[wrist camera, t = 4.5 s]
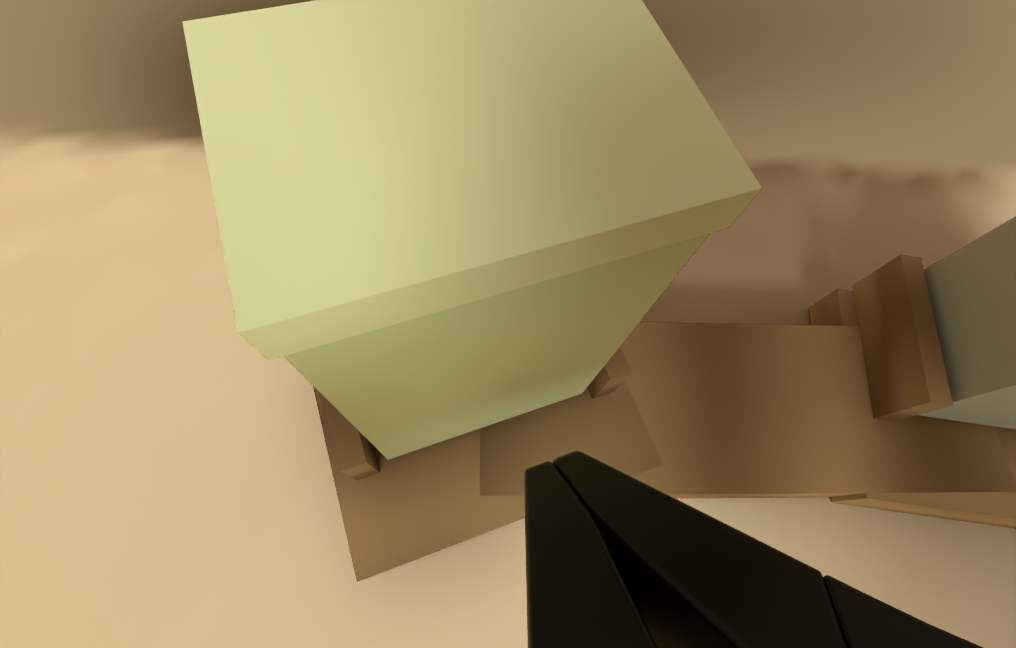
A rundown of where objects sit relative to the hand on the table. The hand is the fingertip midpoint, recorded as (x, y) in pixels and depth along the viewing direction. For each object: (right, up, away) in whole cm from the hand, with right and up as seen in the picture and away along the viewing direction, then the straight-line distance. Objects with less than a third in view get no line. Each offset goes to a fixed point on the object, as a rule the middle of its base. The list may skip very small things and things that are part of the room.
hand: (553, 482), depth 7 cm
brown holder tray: (+6, -1, +9) cm, 10 cm away
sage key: (-2, +1, +7) cm, 7 cm away
